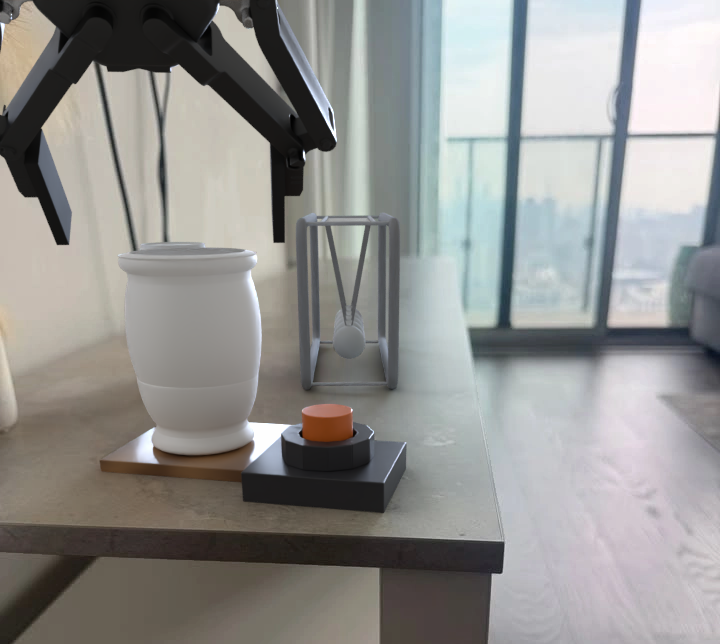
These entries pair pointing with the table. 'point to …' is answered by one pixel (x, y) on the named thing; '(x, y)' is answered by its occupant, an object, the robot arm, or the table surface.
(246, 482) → the switch block
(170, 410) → the jar
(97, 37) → the robot arm
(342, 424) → the button
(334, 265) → the newton's cradle
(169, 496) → the table surface
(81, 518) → the table surface
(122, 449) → the plate
